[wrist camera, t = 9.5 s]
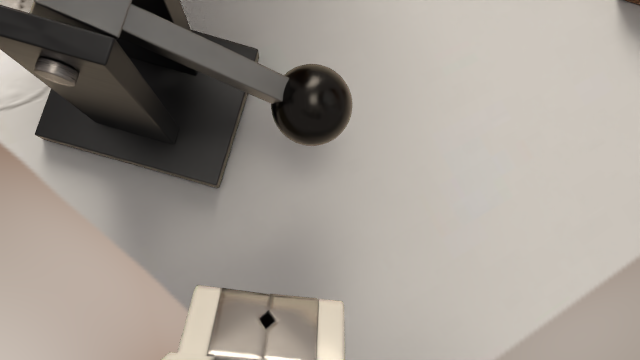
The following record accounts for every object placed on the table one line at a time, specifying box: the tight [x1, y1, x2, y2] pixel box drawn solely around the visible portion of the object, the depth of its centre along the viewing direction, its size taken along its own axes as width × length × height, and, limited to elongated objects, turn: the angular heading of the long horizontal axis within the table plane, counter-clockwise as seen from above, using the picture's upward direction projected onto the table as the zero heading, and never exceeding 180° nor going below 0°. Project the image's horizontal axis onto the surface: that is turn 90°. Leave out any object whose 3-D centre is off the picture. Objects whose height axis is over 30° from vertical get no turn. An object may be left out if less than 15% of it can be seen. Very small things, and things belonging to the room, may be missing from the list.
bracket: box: [0, 0, 259, 188], centre depth 25 cm, size 10×8×14 cm
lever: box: [30, 0, 352, 146], centre depth 23 cm, size 13×4×4 cm, turn 75°
